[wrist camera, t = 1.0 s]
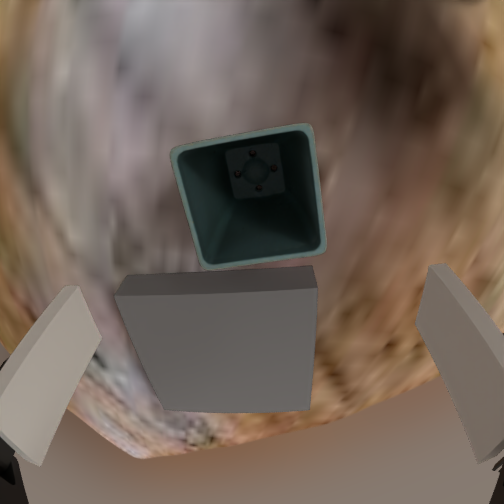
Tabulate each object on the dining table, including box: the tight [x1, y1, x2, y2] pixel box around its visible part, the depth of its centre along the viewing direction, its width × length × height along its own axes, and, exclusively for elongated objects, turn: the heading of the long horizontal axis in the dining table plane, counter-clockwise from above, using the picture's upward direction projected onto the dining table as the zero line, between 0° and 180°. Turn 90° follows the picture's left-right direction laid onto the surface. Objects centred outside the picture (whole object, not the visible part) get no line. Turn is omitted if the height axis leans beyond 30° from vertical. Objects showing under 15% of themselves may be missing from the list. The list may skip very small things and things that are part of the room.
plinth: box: [114, 266, 318, 413], centre depth 35 cm, size 20×20×4 cm
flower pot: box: [170, 123, 327, 271], centre depth 23 cm, size 9×9×9 cm
